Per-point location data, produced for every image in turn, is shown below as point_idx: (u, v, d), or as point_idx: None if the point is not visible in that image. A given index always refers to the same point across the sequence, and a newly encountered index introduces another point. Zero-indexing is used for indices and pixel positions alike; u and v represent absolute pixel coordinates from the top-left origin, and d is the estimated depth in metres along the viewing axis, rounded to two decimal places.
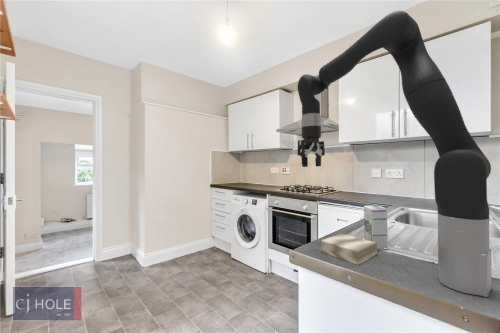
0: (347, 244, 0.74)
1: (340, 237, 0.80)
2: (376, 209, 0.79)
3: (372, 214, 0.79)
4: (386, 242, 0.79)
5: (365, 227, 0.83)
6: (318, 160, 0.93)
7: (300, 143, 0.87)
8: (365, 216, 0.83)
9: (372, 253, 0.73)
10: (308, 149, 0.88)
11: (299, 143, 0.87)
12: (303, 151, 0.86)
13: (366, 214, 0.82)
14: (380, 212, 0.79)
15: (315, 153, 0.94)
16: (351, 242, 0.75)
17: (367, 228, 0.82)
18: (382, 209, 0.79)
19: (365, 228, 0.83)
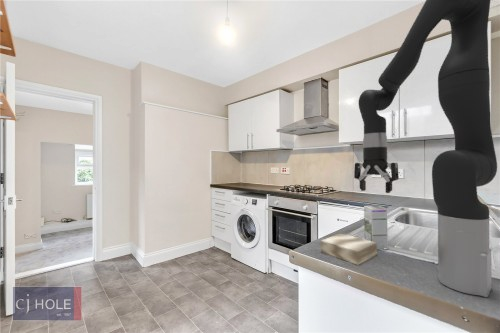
0: (347, 244, 0.74)
1: (340, 237, 0.80)
2: (376, 209, 0.79)
3: (372, 214, 0.79)
4: (386, 242, 0.79)
5: (365, 227, 0.83)
6: (364, 184, 0.85)
7: (396, 166, 0.76)
8: (365, 216, 0.83)
9: (372, 253, 0.73)
10: (388, 173, 0.79)
11: (395, 166, 0.76)
12: None
13: (366, 214, 0.82)
14: (380, 212, 0.79)
15: (364, 176, 0.84)
16: (351, 242, 0.75)
17: (367, 228, 0.82)
18: (382, 209, 0.79)
19: (365, 228, 0.83)
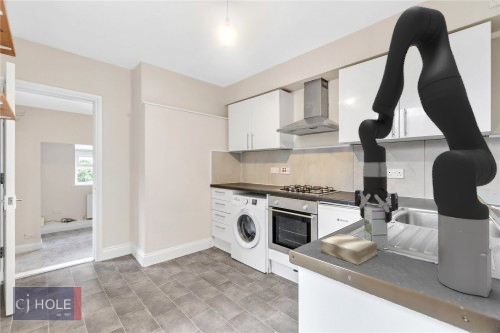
0: (347, 244, 0.74)
1: (340, 237, 0.80)
2: (376, 209, 0.79)
3: (372, 214, 0.79)
4: (386, 242, 0.79)
5: (365, 227, 0.83)
6: None
7: (396, 197, 0.76)
8: (365, 216, 0.83)
9: (372, 253, 0.73)
10: (387, 202, 0.79)
11: (395, 197, 0.76)
12: None
13: (366, 214, 0.82)
14: (380, 212, 0.79)
15: (364, 204, 0.84)
16: (351, 242, 0.75)
17: (367, 228, 0.82)
18: (382, 209, 0.79)
19: (365, 228, 0.83)
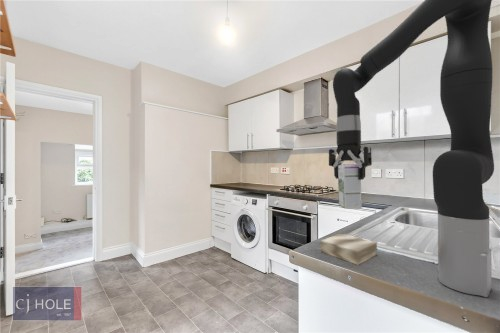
0: (347, 244, 0.74)
1: (340, 237, 0.80)
2: (349, 165, 0.74)
3: (344, 170, 0.74)
4: (359, 201, 0.74)
5: (339, 187, 0.78)
6: None
7: (369, 151, 0.71)
8: (339, 175, 0.78)
9: (372, 253, 0.73)
10: (361, 158, 0.74)
11: (368, 151, 0.71)
12: None
13: (339, 173, 0.77)
14: (353, 168, 0.74)
15: None
16: (351, 242, 0.75)
17: (340, 187, 0.77)
18: (355, 165, 0.74)
19: (339, 188, 0.78)
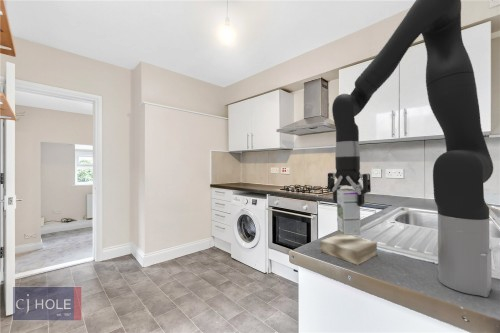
0: (347, 244, 0.74)
1: (340, 237, 0.80)
2: (348, 191, 0.73)
3: (343, 196, 0.73)
4: (358, 227, 0.73)
5: (338, 212, 0.78)
6: None
7: (368, 178, 0.71)
8: (338, 200, 0.78)
9: (372, 253, 0.73)
10: (360, 184, 0.74)
11: (367, 178, 0.70)
12: None
13: (338, 197, 0.77)
14: (352, 195, 0.73)
15: (337, 187, 0.78)
16: (351, 242, 0.75)
17: (339, 212, 0.76)
18: (354, 191, 0.73)
19: (338, 213, 0.78)
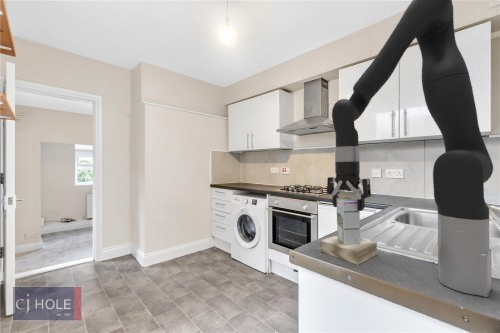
0: (347, 244, 0.74)
1: None
2: (348, 201, 0.73)
3: (343, 206, 0.73)
4: (358, 236, 0.73)
5: (337, 221, 0.78)
6: None
7: (368, 183, 0.71)
8: (337, 209, 0.78)
9: (372, 253, 0.73)
10: (360, 189, 0.74)
11: (367, 182, 0.70)
12: None
13: (338, 207, 0.77)
14: (352, 204, 0.73)
15: (336, 192, 0.79)
16: None
17: (339, 221, 0.76)
18: (354, 201, 0.73)
19: (337, 222, 0.78)
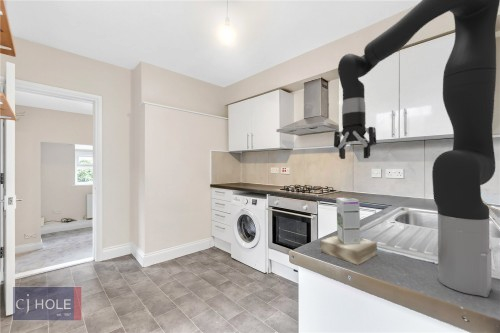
0: (347, 244, 0.74)
1: None
2: (348, 201, 0.73)
3: (343, 206, 0.73)
4: (358, 236, 0.73)
5: (337, 221, 0.78)
6: (344, 152, 0.84)
7: (374, 130, 0.75)
8: (337, 209, 0.78)
9: (372, 253, 0.73)
10: (366, 139, 0.79)
11: (373, 130, 0.75)
12: None
13: (338, 207, 0.77)
14: (352, 204, 0.73)
15: (343, 144, 0.83)
16: None
17: (339, 221, 0.76)
18: (354, 201, 0.73)
19: (337, 222, 0.78)
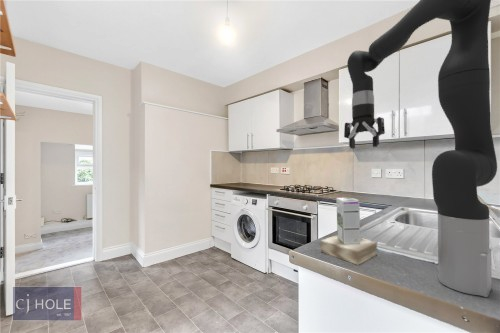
0: (347, 244, 0.74)
1: None
2: (348, 201, 0.73)
3: (343, 206, 0.73)
4: (358, 236, 0.73)
5: (337, 221, 0.78)
6: (354, 142, 0.90)
7: (382, 121, 0.81)
8: (337, 209, 0.78)
9: (372, 253, 0.73)
10: (375, 129, 0.84)
11: (381, 120, 0.81)
12: None
13: (338, 207, 0.77)
14: (352, 204, 0.73)
15: (353, 134, 0.89)
16: None
17: (339, 221, 0.76)
18: (354, 201, 0.73)
19: (337, 222, 0.78)
